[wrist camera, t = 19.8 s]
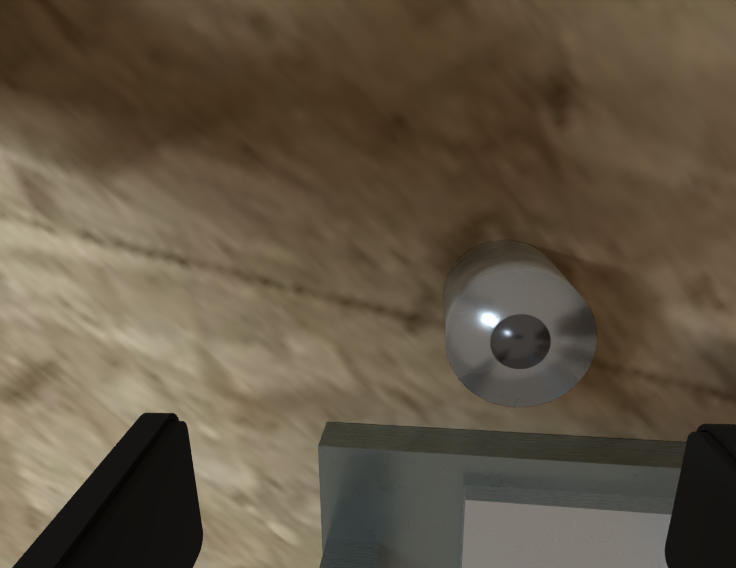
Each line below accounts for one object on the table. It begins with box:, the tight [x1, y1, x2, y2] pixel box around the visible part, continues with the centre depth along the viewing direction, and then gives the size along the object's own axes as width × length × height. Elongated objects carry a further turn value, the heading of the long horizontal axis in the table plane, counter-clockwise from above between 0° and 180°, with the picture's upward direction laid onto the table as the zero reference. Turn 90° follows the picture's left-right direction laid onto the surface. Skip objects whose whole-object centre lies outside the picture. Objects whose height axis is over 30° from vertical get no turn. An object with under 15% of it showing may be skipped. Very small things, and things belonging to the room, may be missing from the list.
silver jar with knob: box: [443, 240, 597, 407], centre depth 20 cm, size 5×5×5 cm
